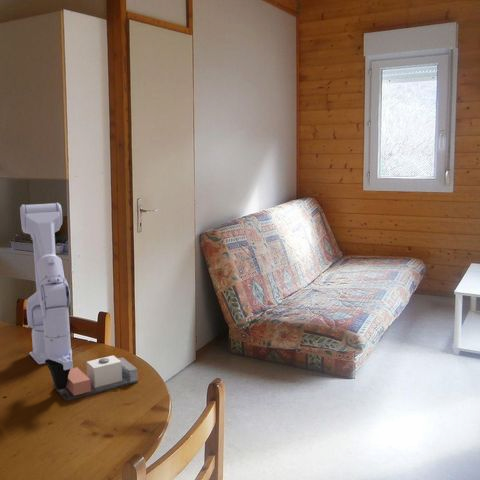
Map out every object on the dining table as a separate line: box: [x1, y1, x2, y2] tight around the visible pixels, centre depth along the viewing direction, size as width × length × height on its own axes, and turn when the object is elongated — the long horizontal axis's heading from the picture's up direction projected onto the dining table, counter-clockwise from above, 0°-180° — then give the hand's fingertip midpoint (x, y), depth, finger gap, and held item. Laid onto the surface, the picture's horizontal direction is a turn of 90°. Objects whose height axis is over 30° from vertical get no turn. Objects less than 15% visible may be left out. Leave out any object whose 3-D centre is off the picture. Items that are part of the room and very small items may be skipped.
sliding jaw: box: [66, 366, 91, 396], centre depth 141 cm, size 9×4×3 cm, turn 34°
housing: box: [86, 355, 122, 388], centre depth 145 cm, size 5×7×5 cm
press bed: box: [53, 357, 139, 402], centre depth 144 cm, size 9×18×4 cm, turn 124°
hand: (60, 388), depth 139 cm, fingers closed, pressing on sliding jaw
